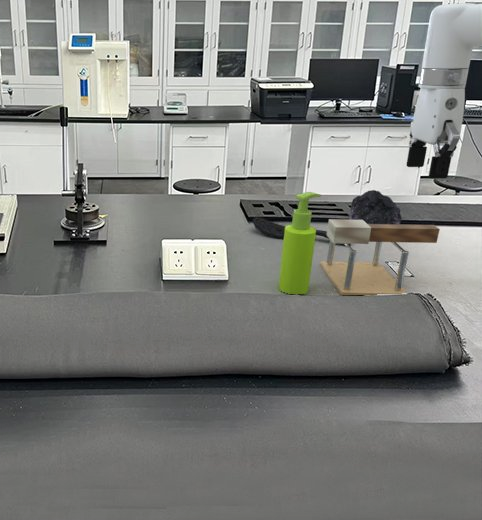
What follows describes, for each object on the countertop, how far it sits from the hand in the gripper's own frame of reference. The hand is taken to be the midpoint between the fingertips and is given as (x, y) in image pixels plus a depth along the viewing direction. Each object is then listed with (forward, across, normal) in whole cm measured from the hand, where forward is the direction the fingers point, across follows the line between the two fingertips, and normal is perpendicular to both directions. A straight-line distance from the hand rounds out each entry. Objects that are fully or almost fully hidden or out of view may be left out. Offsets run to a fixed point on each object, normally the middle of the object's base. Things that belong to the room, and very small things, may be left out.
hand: (425, 172), depth 103 cm
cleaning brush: (+14, +1, +5) cm, 15 cm away
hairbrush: (+23, +27, +16) cm, 39 cm away
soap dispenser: (+23, -4, +24) cm, 34 cm away
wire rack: (+23, +1, +9) cm, 25 cm away
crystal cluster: (+24, +37, -6) cm, 44 cm away
